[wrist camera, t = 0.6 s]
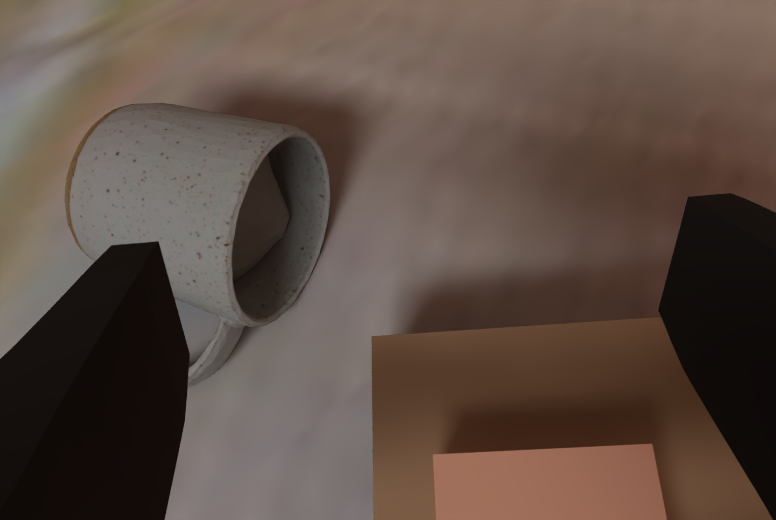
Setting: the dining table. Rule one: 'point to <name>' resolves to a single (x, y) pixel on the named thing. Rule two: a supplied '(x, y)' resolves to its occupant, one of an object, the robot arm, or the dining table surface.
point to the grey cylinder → (205, 208)
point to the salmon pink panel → (549, 484)
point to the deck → (547, 410)
